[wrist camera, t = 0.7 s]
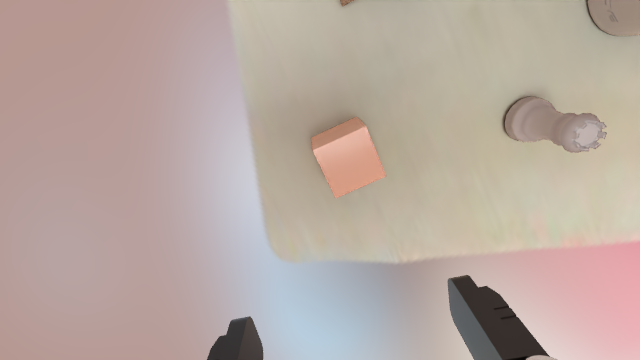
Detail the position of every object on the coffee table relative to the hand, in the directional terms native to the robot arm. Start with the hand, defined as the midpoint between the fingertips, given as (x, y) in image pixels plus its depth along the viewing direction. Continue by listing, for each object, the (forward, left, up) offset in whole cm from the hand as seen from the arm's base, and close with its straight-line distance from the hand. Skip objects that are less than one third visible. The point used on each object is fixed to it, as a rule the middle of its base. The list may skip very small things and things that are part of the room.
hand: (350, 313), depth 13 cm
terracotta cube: (-3, 0, -21) cm, 21 cm away
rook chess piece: (-21, +5, -21) cm, 30 cm away
